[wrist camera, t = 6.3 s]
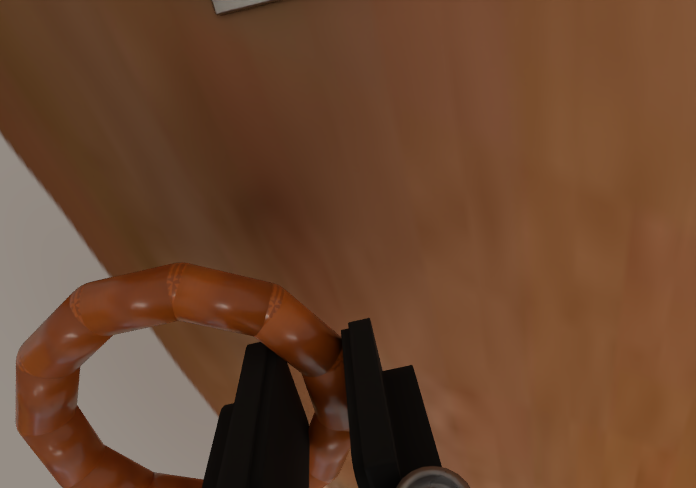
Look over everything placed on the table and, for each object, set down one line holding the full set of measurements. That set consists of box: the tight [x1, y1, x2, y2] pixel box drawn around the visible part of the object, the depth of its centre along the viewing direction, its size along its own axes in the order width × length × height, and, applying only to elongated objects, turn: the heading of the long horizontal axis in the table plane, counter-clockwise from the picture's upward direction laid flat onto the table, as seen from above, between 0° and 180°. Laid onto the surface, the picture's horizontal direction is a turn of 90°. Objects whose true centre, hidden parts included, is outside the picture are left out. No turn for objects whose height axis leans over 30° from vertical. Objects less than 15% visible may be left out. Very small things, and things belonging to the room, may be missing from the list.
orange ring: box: [16, 263, 351, 488], centre depth 11 cm, size 8×8×1 cm
